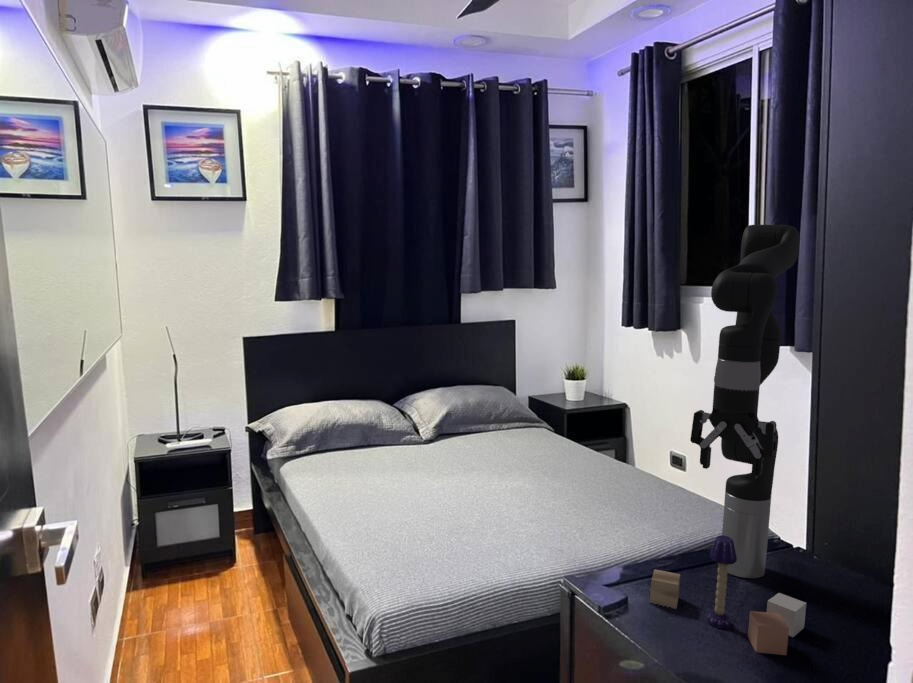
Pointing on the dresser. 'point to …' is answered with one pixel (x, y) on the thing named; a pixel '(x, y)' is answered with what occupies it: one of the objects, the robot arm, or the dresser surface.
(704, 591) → the dresser surface
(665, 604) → the oak block
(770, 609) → the off-white block
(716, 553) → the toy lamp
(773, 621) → the terracotta block
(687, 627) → the dresser surface
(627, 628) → the dresser surface
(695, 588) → the dresser surface
